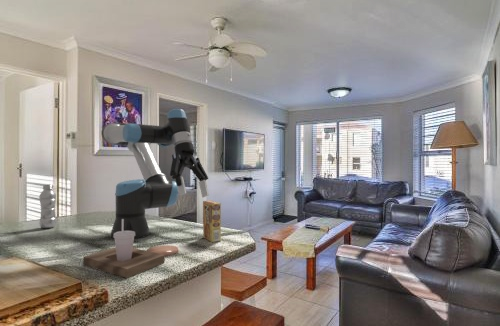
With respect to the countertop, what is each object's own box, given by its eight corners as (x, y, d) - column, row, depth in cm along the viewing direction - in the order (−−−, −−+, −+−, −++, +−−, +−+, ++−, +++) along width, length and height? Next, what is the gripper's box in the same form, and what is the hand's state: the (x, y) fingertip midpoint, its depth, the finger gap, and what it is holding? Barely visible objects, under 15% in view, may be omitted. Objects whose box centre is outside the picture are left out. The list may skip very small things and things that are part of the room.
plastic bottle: (59, 227, 141) (59, 184, 141) (43, 230, 135) (43, 185, 135) (52, 225, 145) (52, 184, 144) (36, 228, 139) (36, 185, 138)
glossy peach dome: (139, 253, 105) (139, 251, 105) (162, 245, 114) (162, 243, 114) (162, 258, 99) (162, 256, 99) (185, 250, 109) (185, 248, 109)
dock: (83, 264, 93) (83, 256, 93) (122, 252, 105) (122, 245, 105) (126, 278, 83) (126, 268, 83) (164, 262, 95) (164, 255, 95)
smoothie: (117, 260, 97) (117, 217, 97) (137, 260, 98) (138, 217, 97) (109, 267, 91) (109, 221, 90) (131, 267, 91) (131, 221, 91)
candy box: (221, 241, 121) (221, 202, 121) (211, 242, 118) (211, 203, 118) (211, 236, 128) (211, 200, 128) (202, 237, 126) (202, 200, 126)
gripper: (168, 134, 109) (180, 189, 102) (209, 147, 130) (220, 193, 124) (153, 142, 112) (164, 197, 105) (195, 154, 133) (206, 199, 127)
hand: (194, 195), depth 115 cm, fingers open, 13 cm apart
